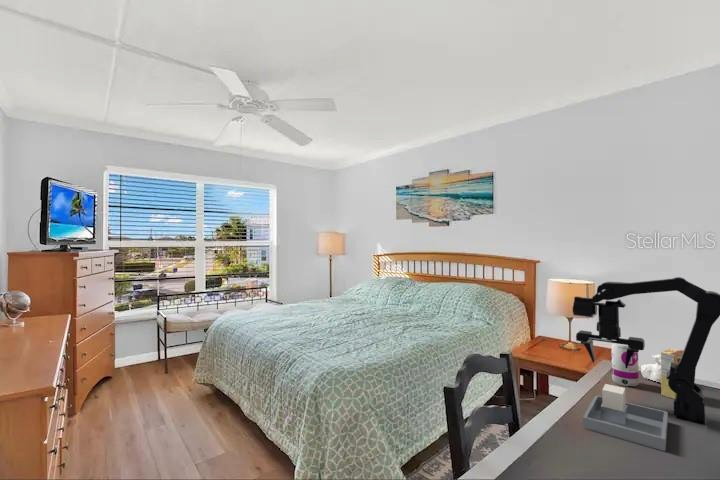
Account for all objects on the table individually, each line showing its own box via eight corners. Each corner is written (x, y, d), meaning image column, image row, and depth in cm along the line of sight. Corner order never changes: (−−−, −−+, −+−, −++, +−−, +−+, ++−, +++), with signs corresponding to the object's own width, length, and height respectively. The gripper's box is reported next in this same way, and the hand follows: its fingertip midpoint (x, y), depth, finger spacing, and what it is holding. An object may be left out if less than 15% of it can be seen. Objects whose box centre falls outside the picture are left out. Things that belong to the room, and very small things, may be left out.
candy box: (672, 390, 129) (671, 347, 130) (687, 394, 126) (685, 350, 126) (660, 395, 125) (659, 351, 125) (676, 399, 121) (674, 354, 122)
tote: (667, 423, 105) (667, 411, 105) (665, 453, 90) (665, 439, 90) (595, 405, 117) (595, 395, 117) (583, 429, 102) (582, 417, 103)
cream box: (625, 404, 108) (625, 388, 108) (623, 411, 104) (622, 394, 104) (605, 400, 111) (605, 383, 111) (602, 406, 107) (602, 389, 107)
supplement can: (643, 388, 131) (642, 347, 132) (618, 386, 133) (617, 346, 133) (631, 380, 139) (630, 341, 140) (608, 378, 141) (607, 340, 141)
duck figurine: (681, 392, 133) (685, 364, 137) (676, 383, 129) (681, 355, 134) (641, 382, 143) (647, 356, 147) (636, 374, 139) (641, 348, 143)
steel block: (627, 418, 108) (627, 405, 108) (625, 426, 103) (625, 412, 103) (604, 412, 112) (603, 399, 112) (600, 419, 107) (600, 406, 107)
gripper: (645, 318, 121) (646, 365, 121) (581, 312, 134) (582, 354, 134) (642, 324, 113) (643, 373, 113) (575, 317, 126) (576, 361, 125)
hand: (609, 365), depth 121 cm, fingers open, 9 cm apart
